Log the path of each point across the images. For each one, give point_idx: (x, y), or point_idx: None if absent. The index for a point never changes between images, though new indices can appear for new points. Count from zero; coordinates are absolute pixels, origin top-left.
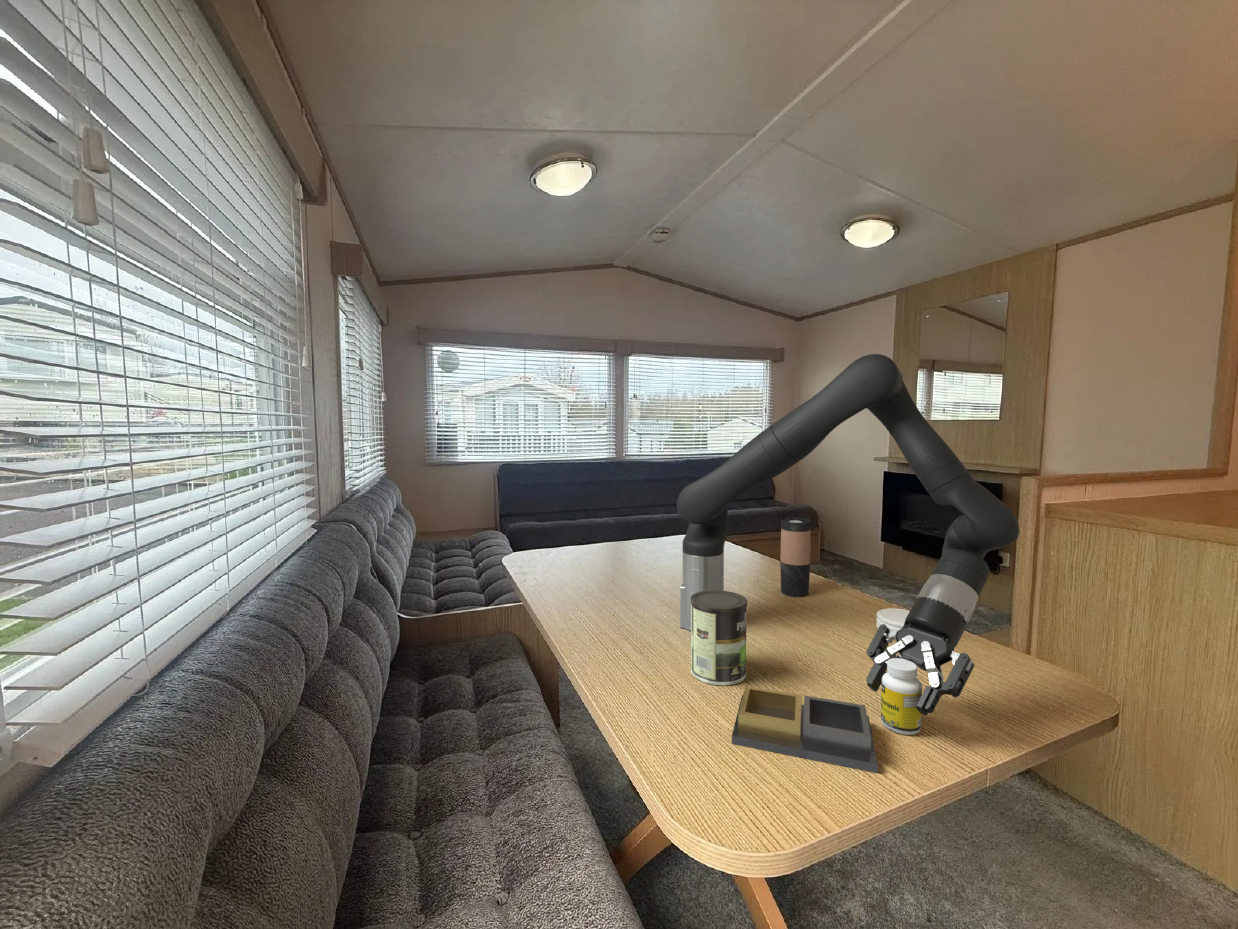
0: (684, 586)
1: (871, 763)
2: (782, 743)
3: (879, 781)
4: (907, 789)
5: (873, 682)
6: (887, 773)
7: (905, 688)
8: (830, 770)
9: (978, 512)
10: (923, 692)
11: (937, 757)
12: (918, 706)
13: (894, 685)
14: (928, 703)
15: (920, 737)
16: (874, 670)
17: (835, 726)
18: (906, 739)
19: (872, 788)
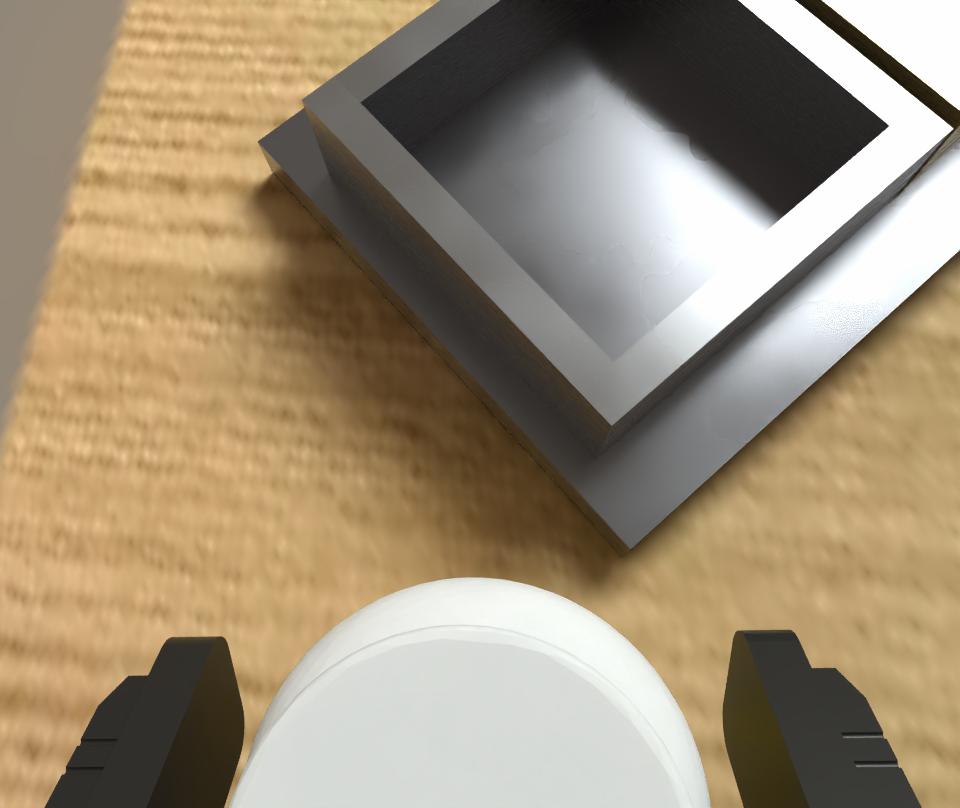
0: None
1: (284, 122)
2: None
3: (232, 130)
4: (115, 194)
5: (749, 671)
6: (242, 215)
7: (318, 646)
8: (422, 2)
9: None
10: (153, 777)
11: (139, 610)
12: (196, 640)
13: (430, 588)
14: (112, 728)
15: None
16: (850, 773)
17: (645, 231)
18: None
19: (224, 64)
